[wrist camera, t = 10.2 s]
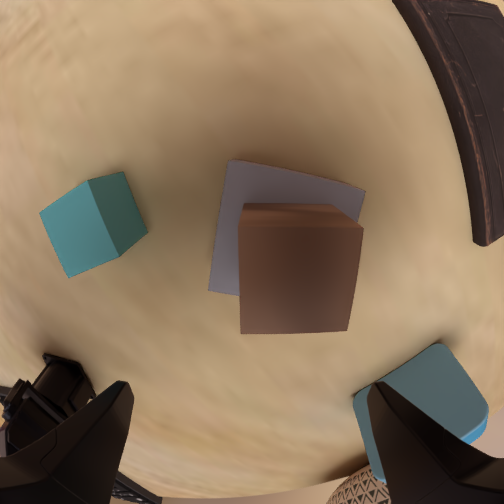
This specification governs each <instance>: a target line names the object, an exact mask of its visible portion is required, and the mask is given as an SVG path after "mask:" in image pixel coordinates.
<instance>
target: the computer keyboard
mask: <svg viewBox="0 0 504 504" xmlns="http://www.w3.org/2000/svg"><path fill="white" fill-rule="evenodd" d="M11 389H12V388H8V387H2V386H0V403H1V404H2V405H3V402H4V400H5V398H6V397H7V395H8V394H9V392H10V391H11ZM22 398H23V399H24V397H23V396H22ZM3 406H4V405H3ZM111 496H113V497H115V498H118V499H122V500H127V501H130V502H137V503H139V504H161V503H162V498H163V497H161V496H156V495H155V494H153V493H151V492H149V491H148V490H146V489H145V488H143V487H141V486H140V485H138V484H137V483H135V482H134V481H132V480H131V479H129V478H128V477H126V476H125V475H123V474H122V473H121V472H119V471H117V475H116V479H115V483H114V487H113V491H112V495H111Z"/></svg>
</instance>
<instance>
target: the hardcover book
mask: <svg viewBox="0 0 504 504" xmlns="http://www.w3.org/2000/svg"><path fill="white" fill-rule="evenodd" d="M392 2H393V3H394V5H395V6H396V8H397V9H398V11H399V12H400V14H401V15H402V17H403V19H404V20H405V22H406V24H407V25H408V27H409V29H410V30H411V32H412V34H413V36H414V38H415V39H416V41H417V43H418V45H419V47H420V49H421V51H422V53H423V55H424V57H425V59H426V61H427V63H428V65H429V68H430V70H431V72H432V74H433V77H434V79H435V81H436V84H437V86H438V89H439V91H440V94H441V96H442V99H443V102H444V105H445V107H446V110H447V113H448V116H449V119H450V122H451V126H452V129H453V132H454V136H455V139H456V143H457V147H458V150H459V154H460V159H461V163H462V167H463V172H464V177H465V182H466V188H467V194H468V200H469V207H470V215H471V224H472V234H473V242H474V243H476V244H477V245H479V246H483V247H484V246H488V245H490V244H491V243H493V242H494V241H496V240H497V239H499V238H500V237H501V236H503V235H504V17H503V15H502V13H501V11H500V10H499V8H498V6H497V5H495V4H491V3H487V2H482V1H478V0H392Z"/></svg>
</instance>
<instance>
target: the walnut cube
mask: <svg viewBox="0 0 504 504" xmlns="http://www.w3.org/2000/svg"><path fill="white" fill-rule="evenodd" d="M363 229H364V228H363V227H362V226H360V225H359V224H358V223H356V222H355V221H354V220H352V219H351V218H350V217H348V216H347V215H346V214H344V213H343V212H342V211H340V210H339V209H338V208H336V207H335V206H334V205H332V204H298V203H244V204H243V208H242V212H241V216H240V220H239V224H238V258H239V295H240V326H241V334H295V333H321V332H339V331H347V329H348V324H349V319H350V314H351V309H352V304H353V298H354V293H355V287H356V281H357V275H358V268H359V261H360V254H361V246H362V238H363Z"/></svg>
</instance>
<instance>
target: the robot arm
mask: <svg viewBox="0 0 504 504" xmlns="http://www.w3.org/2000/svg"><path fill="white" fill-rule="evenodd" d="M42 357H43V359H44V361H45V363H46V367H45V368H44V369H43V371H42V372H41V373H40V375H39V376H38V377H37V379H36V380H35V381H34V383H33V384H32V385H31V383H30V382H29V381H28V380H27V381H26V382H25V381H23V380H21V379H19V380H18V381H17V382H16V384H15V385H14V386H13V388H12V389H11V391H10V392H9V394H8V395H7V397H6V398H5V400H4V402H3V405H4V410H3V414H2V417H3V418H4V419H5V422H4V423H3V425H2V427H1V429H0V456H1V457H0V504H109V503H110V499H111V495H112V491H113V487H114V483H115V479H116V475H117V471H118V468H119V464H120V460H121V457H122V453H123V450H124V446H125V443H126V439H127V436H128V432H129V426H130V421H131V415H132V410H133V404H134V395H133V393H132V390H131V388H130V385H129V383H128V382H125V381H120V380H118V381H116V382H115V383H113V384H112V385H111V386H110V387H108V388H107V389H106V390H104V391H103V392H102V393H100V394H99V395H98V396H97V397H96V395H95V393H94V391H93V390H92V388H91V386H90V384H89V382H88V380H87V378H86V376H85V374H84V372H83V370H82V368H81V366H80V364H79V363H77V362H74V361H70V360H67V359H63V358H59V357H56V356H53V355H49V354H46V353H44V354H43V355H42ZM22 396H23V397H24V399H23V398H22ZM89 399H93V400H91V401H90V402H89V403H88V404H87V402H88V400H89ZM367 406H368V411H369V416H370V422H371V428H372V433H373V437H374V441H375V444H376V447H377V451H378V454H379V458H380V461H381V465H382V469H383V472H384V476H385V480H386V484H387V488H388V492H389V496H390V500H391V504H504V458H495V457H491V456H489V455H487V454H485V453H483V452H482V451H480V450H478V449H476V448H474V447H473V446H471V445H469V444H467V443H466V442H464V441H462V440H461V439H459V438H458V437H456V436H455V435H454V434H452V433H451V432H450V431H448V430H447V429H445V428H444V427H443V426H441V425H440V424H439V423H437V422H436V421H435V420H434V419H432V418H431V417H430V416H428V415H427V414H426V413H424V412H423V411H422V410H420V409H419V408H418V407H417V406H415V405H414V404H413V403H411V402H410V401H409V400H407V399H406V398H405V397H404V396H402V395H401V394H400V393H398V392H397V391H396V390H395V389H393V388H392V387H391V386H389V385H388V384H387V383H386V382H384V381H378V382H374V383H373V384H372V385H371V388H370V390H369V392H368V395H367Z"/></svg>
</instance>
